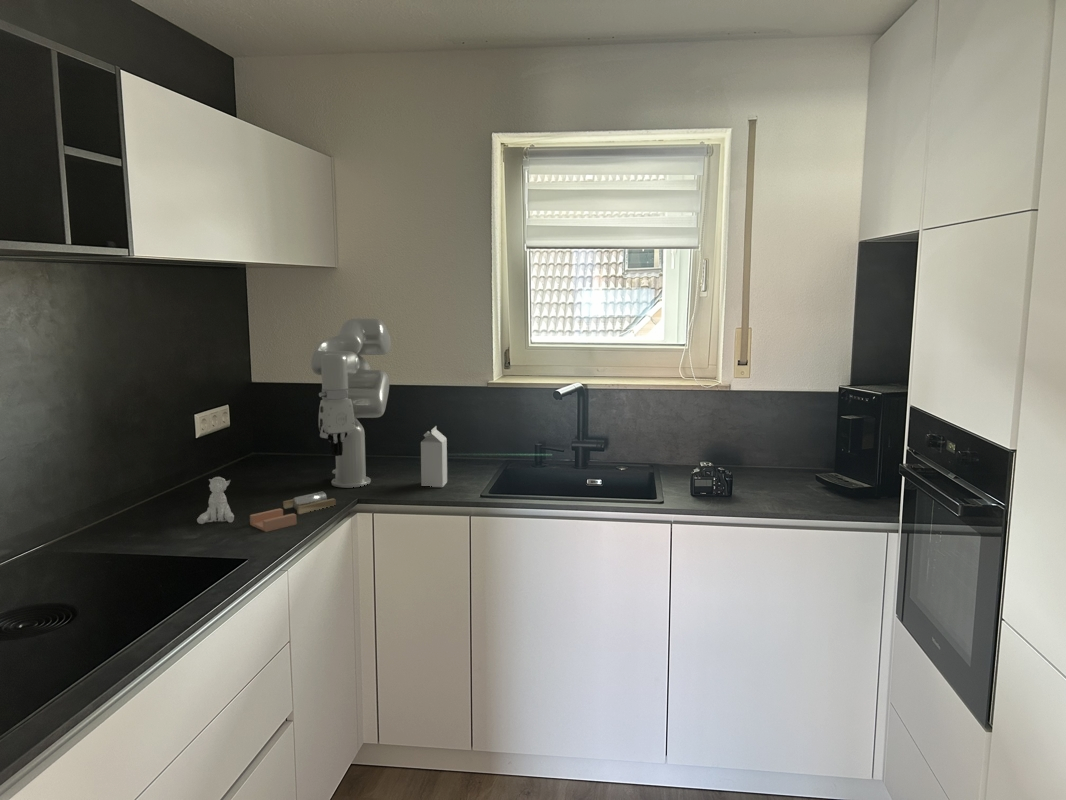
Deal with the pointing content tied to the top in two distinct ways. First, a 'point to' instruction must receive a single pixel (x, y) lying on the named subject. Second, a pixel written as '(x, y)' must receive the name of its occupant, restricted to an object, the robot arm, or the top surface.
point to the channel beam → (310, 505)
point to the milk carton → (434, 459)
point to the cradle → (272, 520)
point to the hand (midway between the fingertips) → (337, 454)
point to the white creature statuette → (217, 503)
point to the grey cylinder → (308, 499)
